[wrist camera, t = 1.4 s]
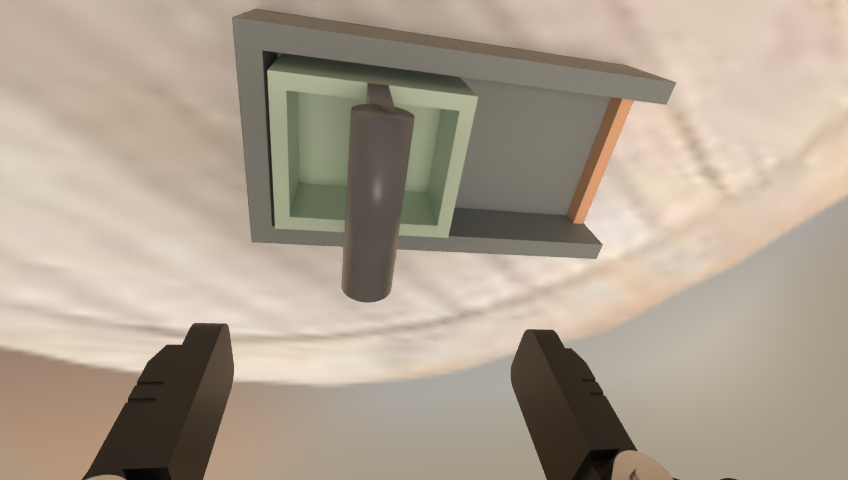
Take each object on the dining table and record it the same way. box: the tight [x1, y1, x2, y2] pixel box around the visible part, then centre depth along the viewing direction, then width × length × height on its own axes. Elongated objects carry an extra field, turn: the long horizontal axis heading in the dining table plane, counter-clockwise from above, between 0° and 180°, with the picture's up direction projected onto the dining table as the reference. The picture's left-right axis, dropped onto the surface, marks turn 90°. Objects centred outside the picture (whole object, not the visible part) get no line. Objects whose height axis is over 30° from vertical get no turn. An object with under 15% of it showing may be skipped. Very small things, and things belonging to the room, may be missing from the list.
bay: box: [232, 9, 676, 259], centre depth 26 cm, size 12×23×5 cm, turn 81°
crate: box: [267, 53, 478, 302], centre depth 21 cm, size 8×10×11 cm
